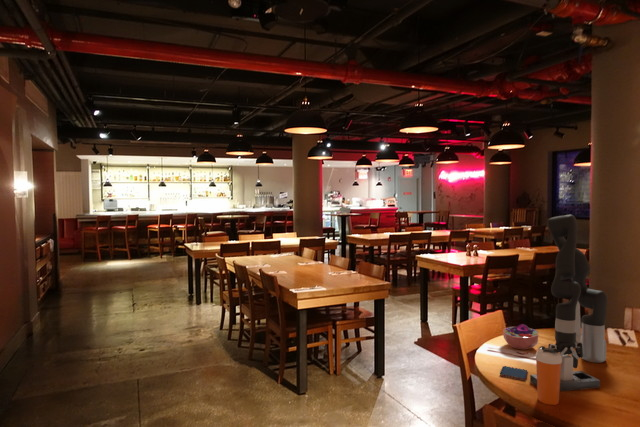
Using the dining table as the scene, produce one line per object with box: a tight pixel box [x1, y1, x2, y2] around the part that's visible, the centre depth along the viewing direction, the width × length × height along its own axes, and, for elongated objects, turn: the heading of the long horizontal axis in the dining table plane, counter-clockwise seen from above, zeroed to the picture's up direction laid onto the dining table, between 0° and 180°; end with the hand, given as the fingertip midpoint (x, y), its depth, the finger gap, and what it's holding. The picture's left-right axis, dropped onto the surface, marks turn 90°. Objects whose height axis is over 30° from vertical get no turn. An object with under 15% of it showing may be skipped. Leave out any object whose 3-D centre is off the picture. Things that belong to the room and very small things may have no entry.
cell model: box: [502, 323, 539, 350], centre depth 221 cm, size 17×20×11 cm
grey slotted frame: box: [529, 370, 601, 392], centre depth 177 cm, size 24×10×3 cm, turn 100°
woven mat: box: [499, 366, 529, 382], centre depth 188 cm, size 10×11×2 cm
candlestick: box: [575, 302, 582, 343], centre depth 232 cm, size 13×13×30 cm
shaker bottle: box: [535, 345, 562, 406], centre depth 163 cm, size 9×9×20 cm
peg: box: [560, 354, 574, 381], centre depth 177 cm, size 4×4×12 cm
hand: (565, 368), depth 177 cm, fingers open, 8 cm apart
